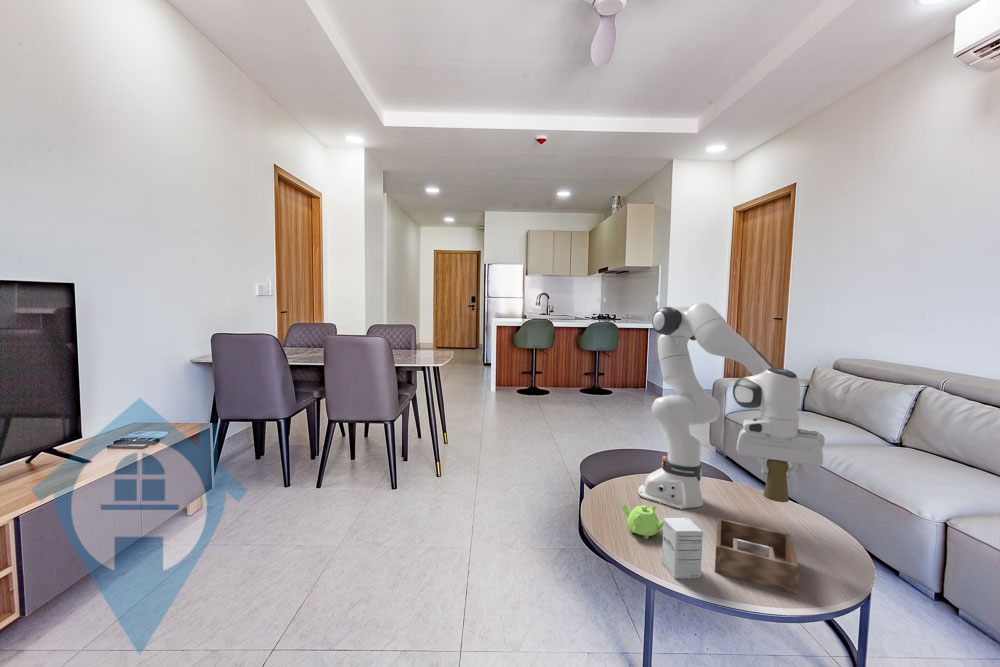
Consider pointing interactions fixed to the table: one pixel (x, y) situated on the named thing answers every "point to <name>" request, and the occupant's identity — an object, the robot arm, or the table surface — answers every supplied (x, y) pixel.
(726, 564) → the walled box
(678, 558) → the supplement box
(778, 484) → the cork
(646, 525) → the teapot
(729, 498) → the table surface
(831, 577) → the table surface
